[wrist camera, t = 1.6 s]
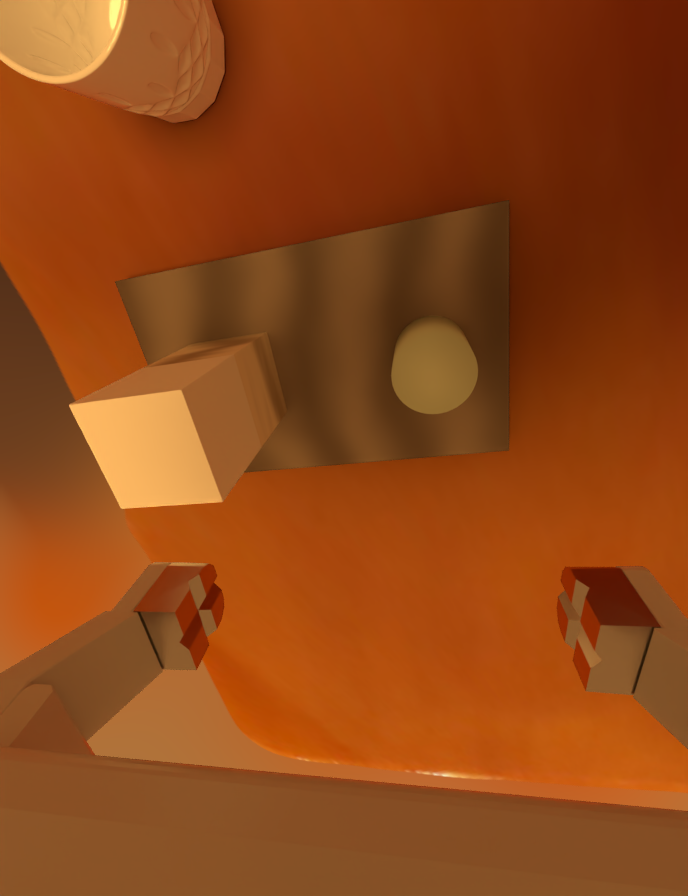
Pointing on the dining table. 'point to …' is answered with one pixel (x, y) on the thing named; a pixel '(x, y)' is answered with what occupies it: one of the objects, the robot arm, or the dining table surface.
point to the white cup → (120, 51)
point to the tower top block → (171, 432)
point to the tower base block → (245, 375)
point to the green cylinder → (433, 366)
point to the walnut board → (351, 332)
